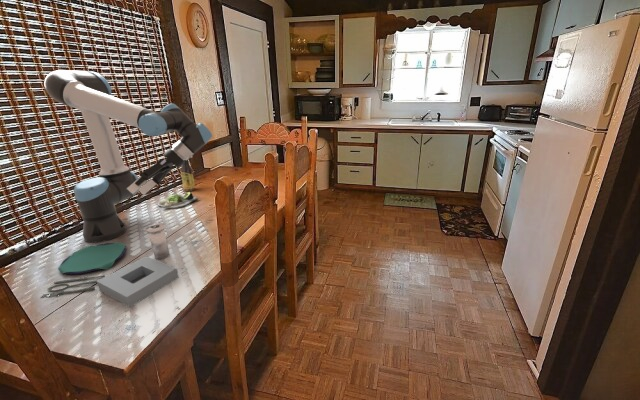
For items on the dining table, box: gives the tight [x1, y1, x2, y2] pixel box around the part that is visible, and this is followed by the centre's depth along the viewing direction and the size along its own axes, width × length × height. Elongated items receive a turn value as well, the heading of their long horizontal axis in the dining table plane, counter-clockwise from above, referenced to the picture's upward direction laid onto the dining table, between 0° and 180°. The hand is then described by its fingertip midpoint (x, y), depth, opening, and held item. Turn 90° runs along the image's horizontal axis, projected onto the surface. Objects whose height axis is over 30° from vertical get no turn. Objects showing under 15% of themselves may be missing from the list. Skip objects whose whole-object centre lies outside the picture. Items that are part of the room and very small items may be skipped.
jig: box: [96, 255, 179, 308], centre depth 96 cm, size 16×16×4 cm
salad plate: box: [157, 191, 199, 209], centre depth 160 cm, size 19×18×5 cm
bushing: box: [145, 222, 171, 261], centre depth 110 cm, size 6×6×12 cm
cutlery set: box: [40, 242, 127, 299], centre depth 105 cm, size 20×30×2 cm, turn 11°
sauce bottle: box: [180, 158, 196, 192], centre depth 177 cm, size 7×6×20 cm
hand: (135, 192), depth 116 cm, fingers open, 13 cm apart
